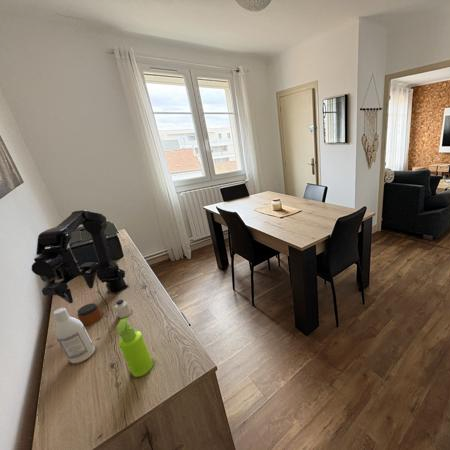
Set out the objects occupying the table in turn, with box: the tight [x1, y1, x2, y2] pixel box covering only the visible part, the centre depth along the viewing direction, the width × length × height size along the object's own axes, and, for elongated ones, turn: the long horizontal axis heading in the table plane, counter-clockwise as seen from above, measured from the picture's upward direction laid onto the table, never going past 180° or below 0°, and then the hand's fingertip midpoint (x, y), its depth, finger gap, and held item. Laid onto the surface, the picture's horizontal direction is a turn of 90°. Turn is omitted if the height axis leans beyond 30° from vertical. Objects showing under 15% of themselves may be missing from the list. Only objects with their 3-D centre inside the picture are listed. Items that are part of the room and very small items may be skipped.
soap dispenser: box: [115, 317, 154, 378], centre depth 74 cm, size 6×7×20 cm
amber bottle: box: [76, 302, 103, 326], centre depth 101 cm, size 7×7×6 cm
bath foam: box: [52, 307, 96, 364], centre depth 81 cm, size 7×7×20 cm
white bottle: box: [114, 299, 132, 319], centre depth 102 cm, size 4×4×7 cm
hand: (81, 295), depth 96 cm, fingers open, 9 cm apart
